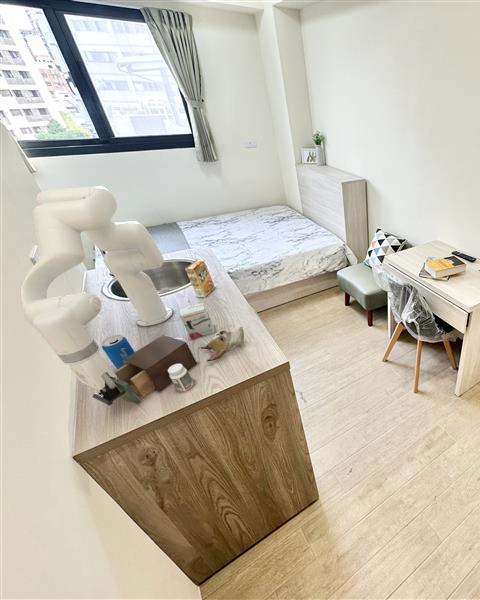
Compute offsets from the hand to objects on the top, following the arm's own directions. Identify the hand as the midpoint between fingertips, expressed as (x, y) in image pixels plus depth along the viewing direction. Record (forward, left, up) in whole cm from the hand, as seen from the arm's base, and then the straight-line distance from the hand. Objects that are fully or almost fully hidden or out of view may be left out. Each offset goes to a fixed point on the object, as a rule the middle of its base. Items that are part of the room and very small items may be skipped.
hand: (114, 396), depth 94 cm
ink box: (-8, +35, -5) cm, 36 cm away
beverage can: (-16, +12, -5) cm, 20 cm away
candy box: (-33, +58, -5) cm, 67 cm away
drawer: (0, +6, -4) cm, 7 cm away
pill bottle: (+11, +13, -5) cm, 18 cm away
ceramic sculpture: (+10, +31, -5) cm, 33 cm away
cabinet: (0, +15, -5) cm, 16 cm away
